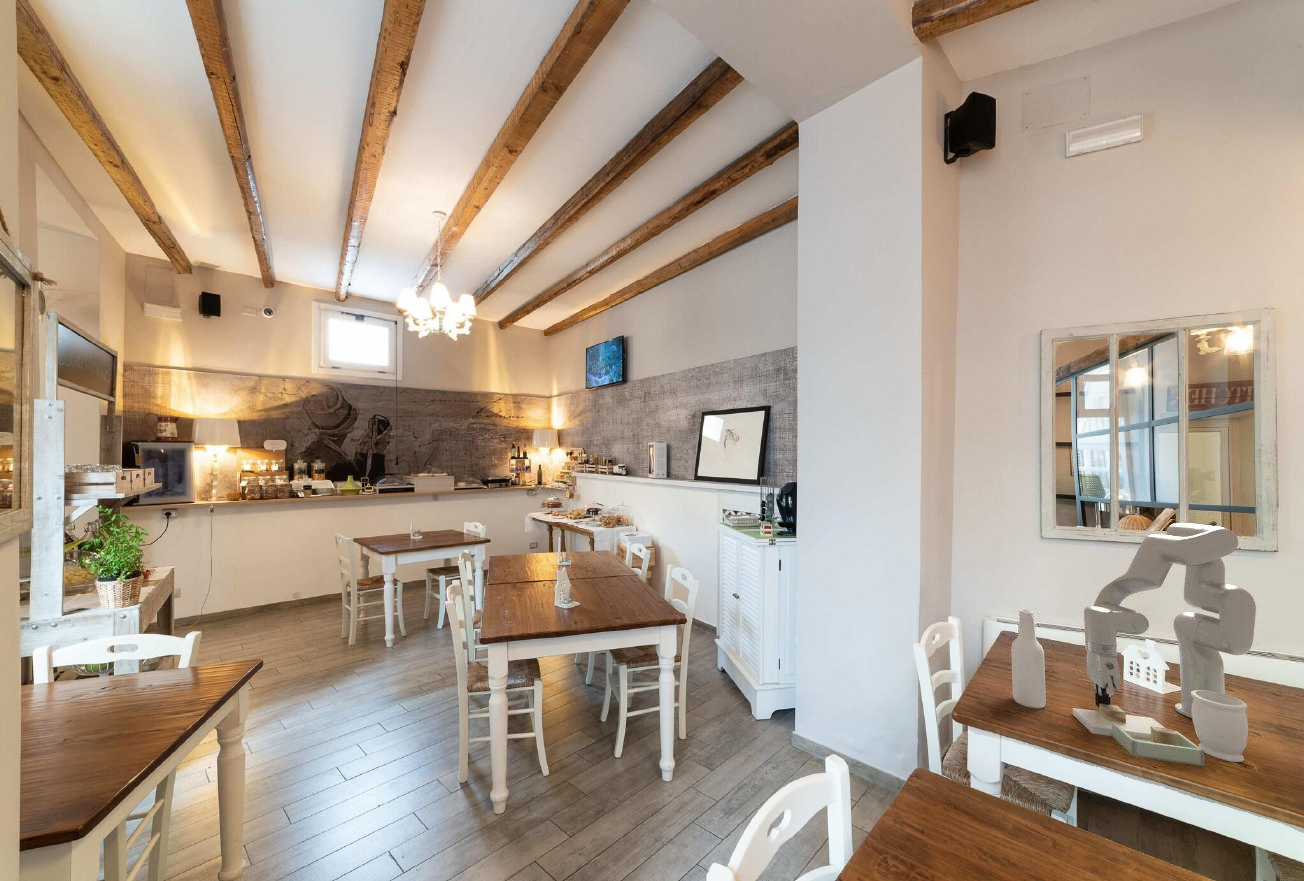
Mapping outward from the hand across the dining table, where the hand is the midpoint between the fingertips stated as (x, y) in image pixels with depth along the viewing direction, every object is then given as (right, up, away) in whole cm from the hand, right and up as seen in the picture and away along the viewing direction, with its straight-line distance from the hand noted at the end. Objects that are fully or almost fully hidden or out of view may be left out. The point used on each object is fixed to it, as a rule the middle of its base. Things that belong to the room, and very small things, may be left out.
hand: (1103, 707), depth 159 cm
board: (-1, -3, -7) cm, 8 cm away
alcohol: (-16, -4, +9) cm, 19 cm away
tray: (-2, -2, -19) cm, 19 cm away
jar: (+14, -2, -21) cm, 25 cm away
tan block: (-2, -1, -5) cm, 5 cm away
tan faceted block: (+2, +1, -16) cm, 17 cm away
